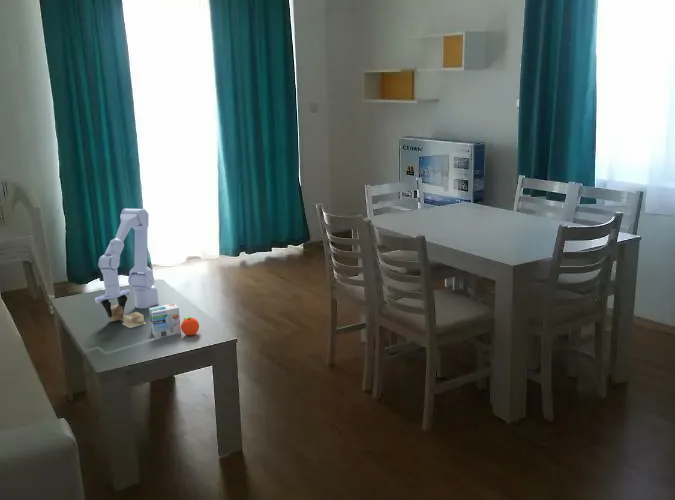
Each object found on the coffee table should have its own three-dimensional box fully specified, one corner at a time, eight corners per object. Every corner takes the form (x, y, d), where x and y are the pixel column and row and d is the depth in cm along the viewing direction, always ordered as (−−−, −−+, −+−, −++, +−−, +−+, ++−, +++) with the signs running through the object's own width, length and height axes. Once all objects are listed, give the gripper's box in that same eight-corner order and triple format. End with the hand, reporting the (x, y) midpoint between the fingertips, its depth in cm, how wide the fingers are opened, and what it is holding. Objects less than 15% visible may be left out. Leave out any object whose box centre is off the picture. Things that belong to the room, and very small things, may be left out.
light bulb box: (154, 339, 254) (151, 312, 252) (150, 333, 260) (147, 307, 257) (182, 333, 259) (179, 307, 256) (177, 328, 265) (175, 302, 262)
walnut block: (119, 315, 276) (117, 304, 274) (123, 318, 272) (122, 306, 271) (108, 318, 273) (107, 307, 271) (113, 321, 269) (111, 309, 268)
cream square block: (137, 319, 273) (136, 311, 273) (144, 323, 269) (143, 315, 268) (124, 323, 270) (123, 315, 269) (130, 327, 265) (129, 319, 264)
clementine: (177, 334, 258) (175, 317, 256) (192, 329, 263) (190, 312, 261) (188, 339, 252) (186, 322, 251) (203, 334, 257) (201, 317, 255)
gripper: (124, 277, 276) (128, 308, 280) (90, 285, 267) (94, 317, 270) (131, 281, 271) (135, 312, 275) (97, 289, 262) (101, 321, 265)
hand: (115, 315), depth 272 cm, fingers closed on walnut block, 4 cm apart
